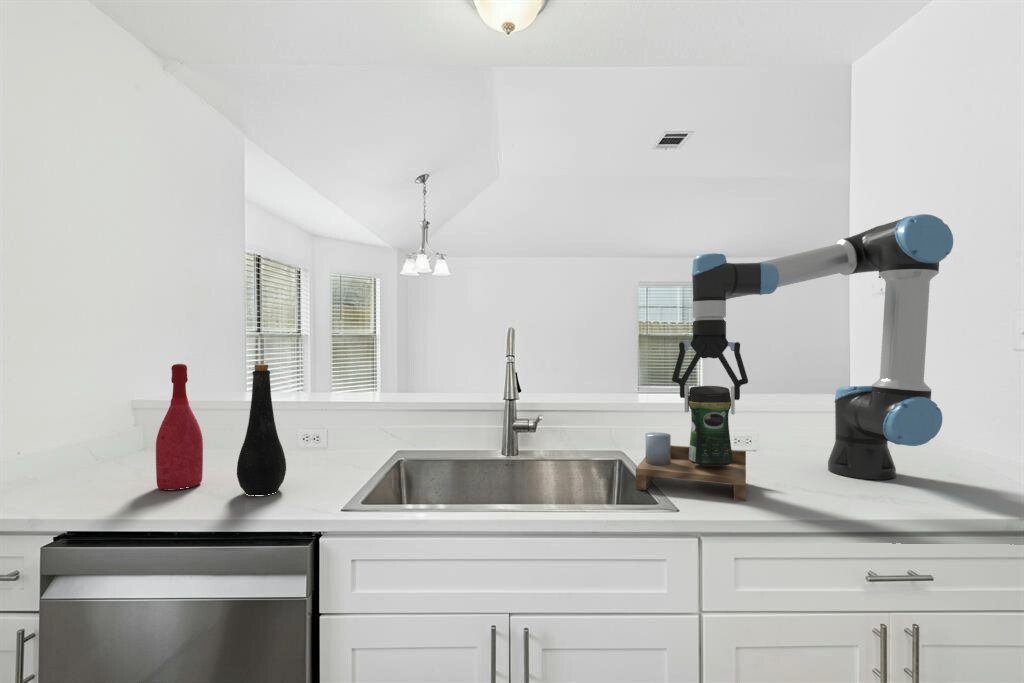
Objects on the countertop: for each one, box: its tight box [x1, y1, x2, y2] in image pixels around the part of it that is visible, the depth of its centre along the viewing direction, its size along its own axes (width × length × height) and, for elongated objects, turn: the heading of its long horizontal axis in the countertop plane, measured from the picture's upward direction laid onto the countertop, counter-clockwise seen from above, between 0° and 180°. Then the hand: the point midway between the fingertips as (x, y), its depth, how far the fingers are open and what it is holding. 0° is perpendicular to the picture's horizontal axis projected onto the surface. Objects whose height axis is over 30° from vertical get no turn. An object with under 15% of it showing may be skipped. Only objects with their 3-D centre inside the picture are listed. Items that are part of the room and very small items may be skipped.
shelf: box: [635, 445, 747, 502], centre depth 130 cm, size 24×16×8 cm, turn 66°
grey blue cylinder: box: [645, 431, 672, 465], centre depth 134 cm, size 6×6×7 cm
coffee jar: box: [688, 385, 733, 466], centre depth 129 cm, size 10×8×19 cm
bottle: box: [236, 363, 287, 496], centre depth 126 cm, size 11×11×30 cm
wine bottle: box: [155, 363, 204, 491], centre depth 132 cm, size 10×10×30 cm
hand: (709, 412), depth 129 cm, fingers closed on coffee jar, 10 cm apart
